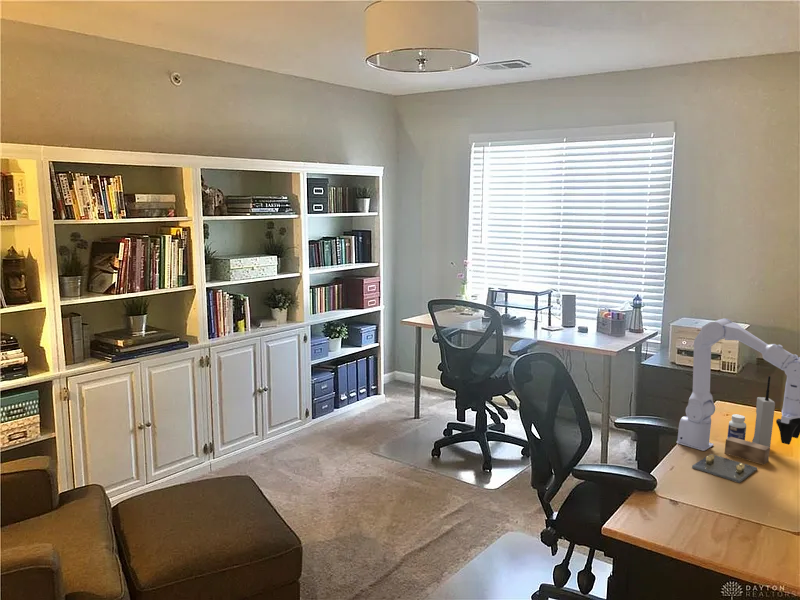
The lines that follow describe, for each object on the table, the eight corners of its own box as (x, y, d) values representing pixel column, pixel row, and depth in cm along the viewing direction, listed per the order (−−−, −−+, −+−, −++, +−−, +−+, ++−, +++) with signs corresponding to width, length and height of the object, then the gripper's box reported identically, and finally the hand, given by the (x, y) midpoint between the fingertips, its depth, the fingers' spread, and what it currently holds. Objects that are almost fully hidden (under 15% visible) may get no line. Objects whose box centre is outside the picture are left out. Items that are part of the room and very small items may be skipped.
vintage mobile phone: (763, 444, 223) (771, 373, 219) (769, 450, 218) (778, 378, 214) (751, 443, 223) (759, 373, 219) (758, 449, 218) (766, 377, 214)
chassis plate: (692, 467, 203) (692, 459, 202) (710, 456, 212) (711, 447, 212) (739, 483, 193) (740, 474, 192) (756, 469, 202) (757, 461, 202)
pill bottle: (726, 444, 222) (729, 417, 221) (727, 439, 227) (729, 412, 225) (744, 447, 220) (747, 419, 218) (744, 442, 225) (747, 415, 223)
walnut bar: (724, 453, 215) (725, 439, 214) (729, 450, 217) (730, 436, 217) (763, 465, 206) (765, 450, 205) (768, 461, 209) (770, 447, 208)
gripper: (802, 406, 190) (796, 450, 192) (817, 396, 199) (812, 438, 202) (775, 400, 195) (770, 443, 197) (791, 390, 205) (786, 431, 207)
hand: (789, 440), depth 200 cm, fingers open, 7 cm apart
